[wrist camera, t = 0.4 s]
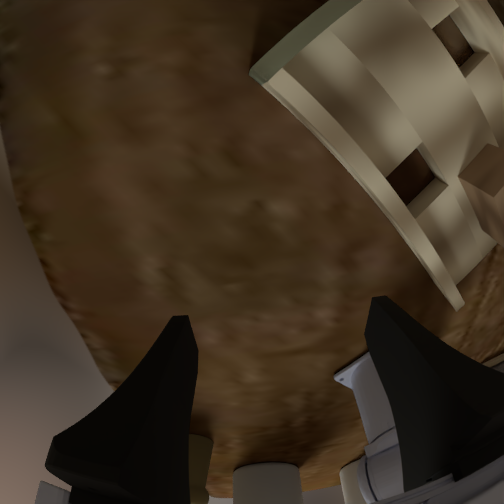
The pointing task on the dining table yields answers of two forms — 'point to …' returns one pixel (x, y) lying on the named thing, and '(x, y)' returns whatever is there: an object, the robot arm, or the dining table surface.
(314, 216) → the dining table surface
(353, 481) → the white lidded jar
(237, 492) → the cylinder vase
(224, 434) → the dining table surface
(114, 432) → the robot arm
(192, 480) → the cork
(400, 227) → the trap box
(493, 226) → the walnut block
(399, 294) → the dining table surface
